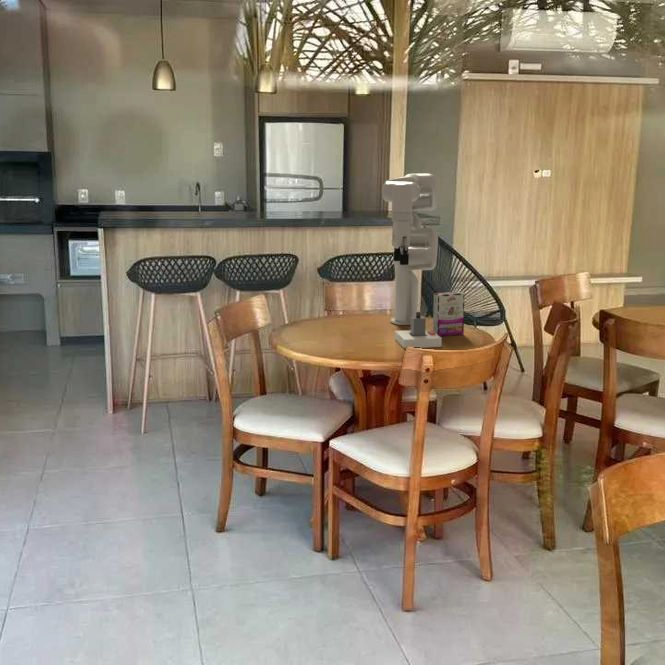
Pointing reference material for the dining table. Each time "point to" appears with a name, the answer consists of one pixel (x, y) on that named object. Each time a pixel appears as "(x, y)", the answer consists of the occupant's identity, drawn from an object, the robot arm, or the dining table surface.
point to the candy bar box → (448, 313)
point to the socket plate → (418, 339)
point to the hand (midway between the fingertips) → (401, 262)
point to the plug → (418, 325)
